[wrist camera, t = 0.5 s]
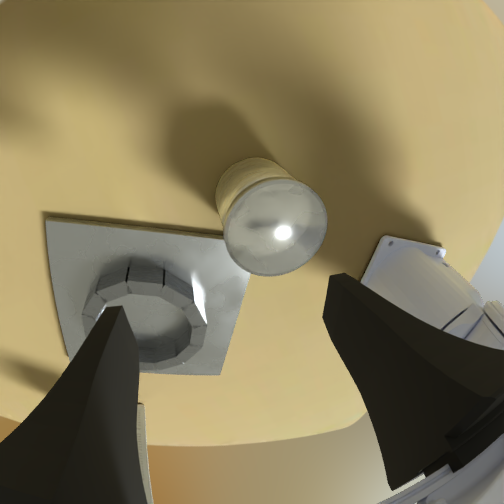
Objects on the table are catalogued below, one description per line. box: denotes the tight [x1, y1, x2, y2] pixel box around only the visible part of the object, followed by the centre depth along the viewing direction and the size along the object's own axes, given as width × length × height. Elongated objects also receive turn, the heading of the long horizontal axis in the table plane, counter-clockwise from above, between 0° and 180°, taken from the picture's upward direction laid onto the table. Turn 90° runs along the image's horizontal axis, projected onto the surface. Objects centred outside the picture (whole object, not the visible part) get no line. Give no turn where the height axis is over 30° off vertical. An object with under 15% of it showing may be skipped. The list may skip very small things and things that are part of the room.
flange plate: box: [45, 217, 251, 375], centre depth 20 cm, size 14×14×2 cm
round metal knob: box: [215, 158, 327, 276], centre depth 16 cm, size 5×5×5 cm
